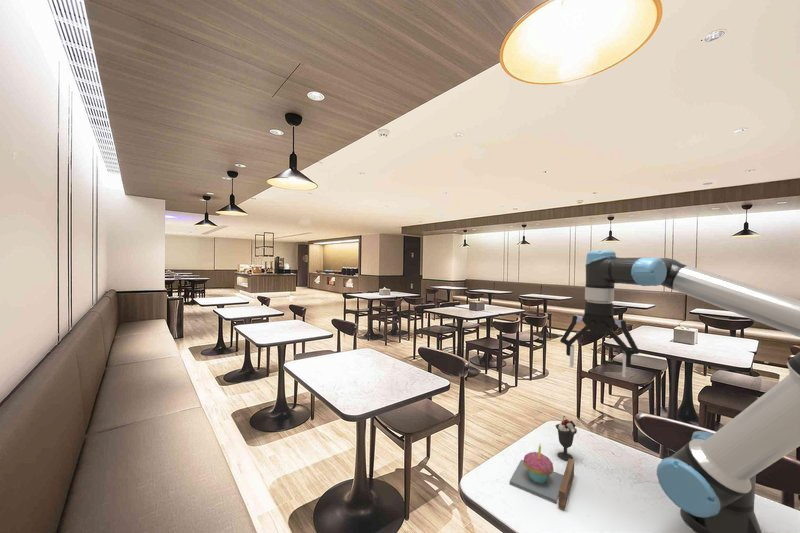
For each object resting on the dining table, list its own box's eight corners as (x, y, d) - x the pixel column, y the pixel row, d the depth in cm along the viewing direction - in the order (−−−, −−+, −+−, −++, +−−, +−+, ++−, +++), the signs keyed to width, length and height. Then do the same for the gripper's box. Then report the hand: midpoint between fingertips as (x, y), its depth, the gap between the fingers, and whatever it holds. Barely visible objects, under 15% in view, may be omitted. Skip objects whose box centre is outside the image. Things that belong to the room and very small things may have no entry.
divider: (573, 475, 102) (574, 459, 102) (564, 511, 87) (565, 493, 87) (568, 473, 103) (568, 457, 103) (558, 508, 88) (558, 490, 88)
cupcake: (556, 490, 94) (557, 449, 94) (525, 485, 96) (526, 445, 95) (548, 471, 102) (550, 434, 102) (520, 467, 104) (521, 430, 104)
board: (564, 478, 101) (564, 475, 101) (556, 503, 90) (556, 500, 90) (521, 462, 108) (521, 459, 108) (509, 484, 98) (509, 480, 98)
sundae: (556, 460, 109) (557, 417, 109) (553, 449, 116) (554, 408, 115) (578, 464, 107) (579, 420, 107) (573, 453, 114) (574, 411, 113)
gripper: (650, 304, 93) (647, 376, 94) (556, 297, 108) (554, 359, 108) (651, 307, 87) (648, 384, 88) (551, 299, 102) (549, 365, 102)
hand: (596, 371), depth 98 cm, fingers open, 13 cm apart
